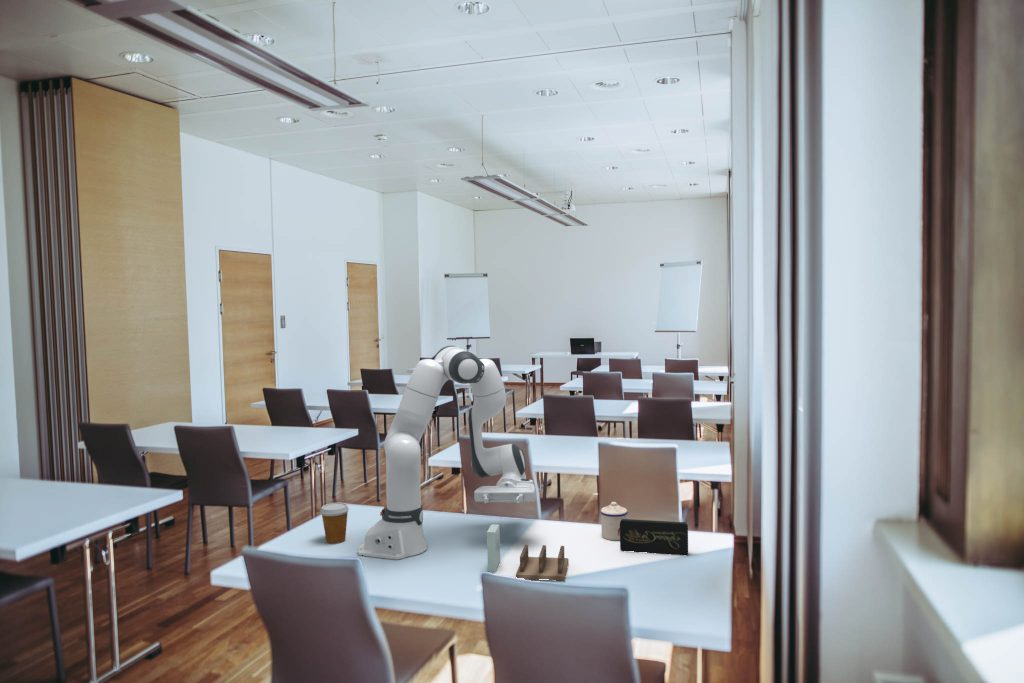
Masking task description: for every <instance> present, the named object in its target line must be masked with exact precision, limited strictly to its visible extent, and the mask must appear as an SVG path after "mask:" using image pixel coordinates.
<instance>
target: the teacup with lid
mask: <svg viewBox="0 0 1024 683" xmlns="http://www.w3.org/2000/svg"><path fill="white" fill-rule="evenodd" d="M628 513H629V512H628V509H627V508H626V507H624V506H621V505H619V504H618V503H617V502H616V501H612V502H610V504H609V505H607V506H604V507H602V508H601V509H600V516H601V518H600V520H601V537H602V538H603V539H605V540H609V541H620V521H621V520H622V519H628Z"/></svg>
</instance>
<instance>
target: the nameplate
mask: <svg viewBox="0 0 1024 683" xmlns="http://www.w3.org/2000/svg"><path fill="white" fill-rule="evenodd" d="M619 548H620V549H619V550H620V551H621V552H624V551H634V552H633V553H639V552H647V553H646V554H654V553H656V554H657V555H669V554H671V556H672V555H673V556H684V555H686V556H688V555H689V525H688V523H687V522H683V521H670V520H669V521H667V520H652V519H651V520H650V519H649V520H648V519H646V520H645V519H631V518H630V519H628V518H627V519H622V520H621V521H620V540H619Z"/></svg>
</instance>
